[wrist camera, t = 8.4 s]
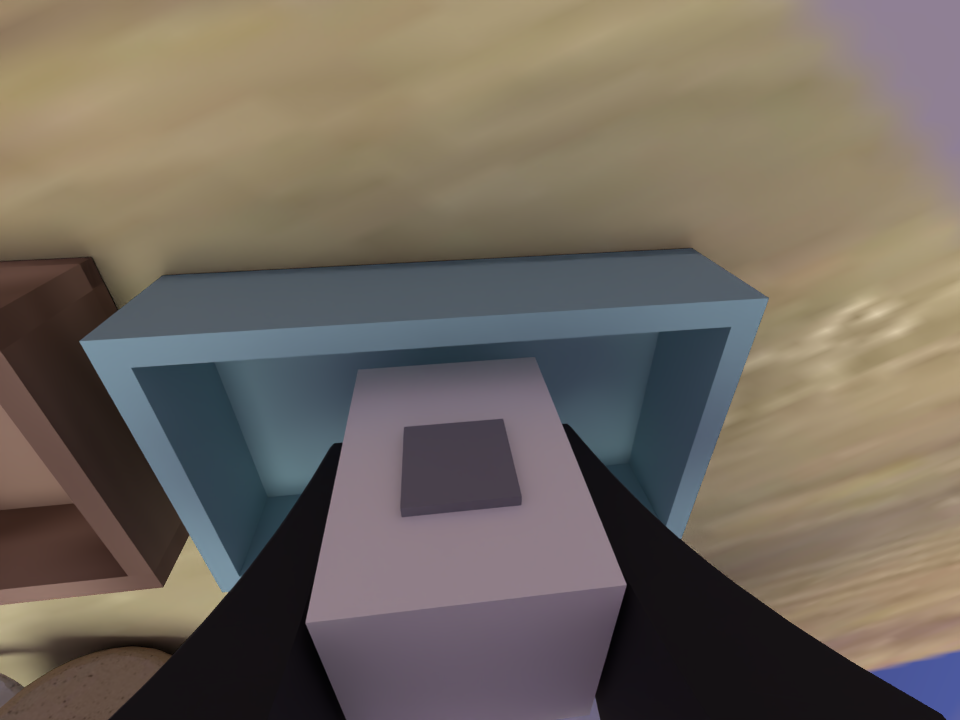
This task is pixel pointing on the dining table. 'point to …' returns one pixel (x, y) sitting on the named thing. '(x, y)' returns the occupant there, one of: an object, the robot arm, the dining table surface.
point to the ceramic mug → (82, 686)
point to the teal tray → (418, 341)
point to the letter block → (462, 552)
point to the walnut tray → (70, 450)
